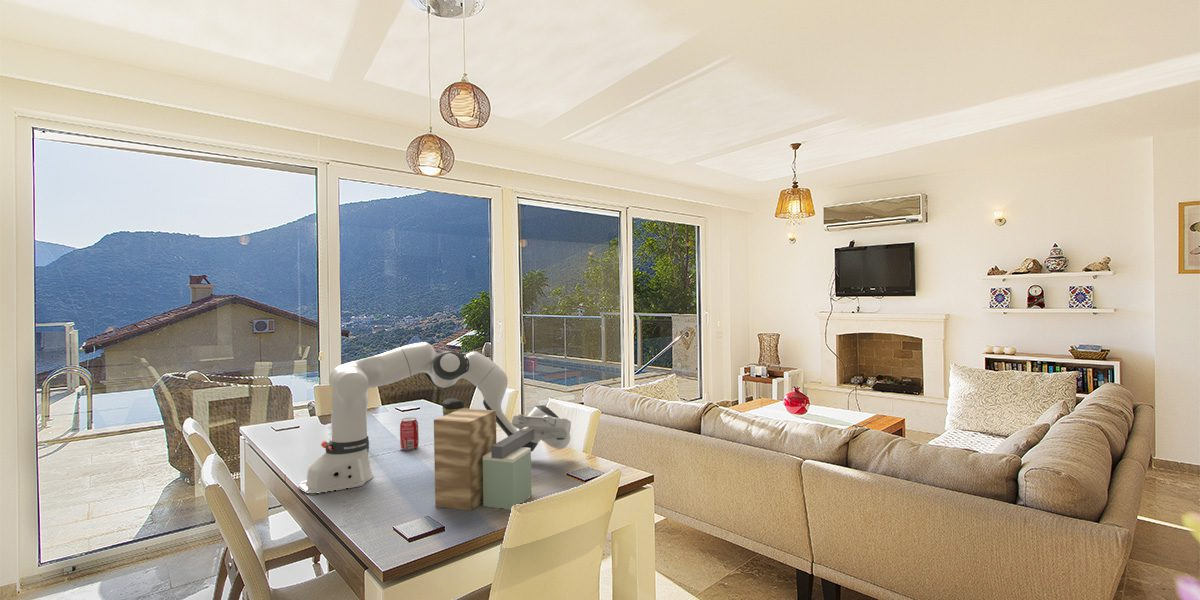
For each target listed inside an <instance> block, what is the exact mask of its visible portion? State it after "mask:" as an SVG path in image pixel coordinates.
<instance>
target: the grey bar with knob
mask: <svg viewBox="0 0 1200 600" xmlns="http://www.w3.org/2000/svg"><path fill="white" fill-rule="evenodd" d="M533 439H534V428H529V427H524V428H522V429H521V430H519V431H518V432H516V433H514V434H512V435H510V436H509V437H508V436H507V437H505V438H503V439H502V440H499V441H497V442H496V444H494V445H492V446H491V458H498V459H503V458H504V457H506V456H508V455H509V454H511V453H512V452H514V451H516V450H517V449H519V448H521V447H522V446H524V445H525V444H527V443H529V442H530V441H532V440H533Z"/></svg>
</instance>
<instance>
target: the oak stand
mask: <svg viewBox="0 0 1200 600" xmlns="http://www.w3.org/2000/svg"><path fill="white" fill-rule="evenodd" d="M496 443H497V422H496V410H487V409H478V408H465V407H464V408H462V409H460V410H457V411H455V412H452V413H450V414H447V415H444V416H443V415H442V416H439V417H436V418H435V419H433V455H434V496H435V497H434V504H435V507H441V508H448V509H456V510H464V511H472V510H474V509H475V508H476V507H477V505H478V506H479V505H480V504H482V503H483V456H484V455H486V454H488V453H489V452H491V446H492V445H494V444H496ZM481 502H482V503H481Z"/></svg>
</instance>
